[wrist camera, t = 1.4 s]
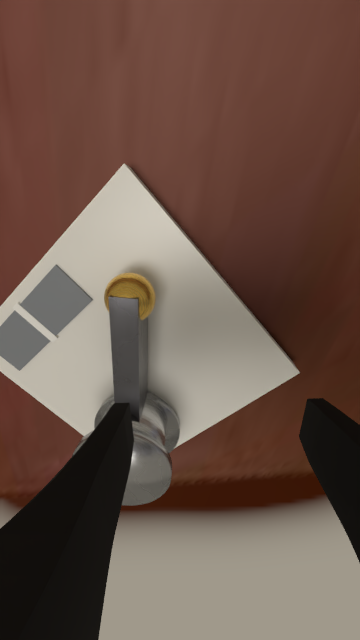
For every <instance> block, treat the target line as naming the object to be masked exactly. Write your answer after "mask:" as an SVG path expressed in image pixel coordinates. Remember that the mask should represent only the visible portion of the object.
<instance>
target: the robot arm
mask: <svg viewBox="0 0 360 640" xmlns="http://www.w3.org/2000/svg"><path fill="white" fill-rule="evenodd" d="M299 437H300V440H301V443H302V445H303V448H304V451H305V453H306V456H307V458H308V461H309V463H310V465H311V467H312V469H313V471H314V473H315V474H316V476H317V478H318V480H319V482H320V484H321V486H322V488H323V490H324V491H325V493H326V495H327V497H328V499H329V501H330V503H331V504H332V506H333V508H334V510H335V512H336V514H337V516H338V517H339V520H340V521H341V523H342V525H343V527H344V529H345V531H346V533H347V535H348V537H349V539H350V541H351V544H352V546H353V548H354V550H355V553H356V555H357V557H358V560H359V562H360V425H359V424H357V423H356V422H355V421H353V420H352V419H351V418H349V417H348V416H347V415H345V414H344V413H342V412H341V411H340V410H338V409H337V408H336V407H334V406H333V405H331V404H330V403H329V402H327V401H326V400H324V399H323V398H319V399H307V403H306V408H305V412H304V416H303V421H302V425H301V430H300V434H299ZM133 445H134V435H133V427H132V419H131V411H130V403H114V404H113V405H112V406H111V407H110V409H109V410H108V412H107V413H106V415H105V416H104V417H103V419H102V420H101V421H100V423H99V424H98V425H97V427H96V428H95V429H94V431H93V432H92V433H91V435H90V436H89V437H88V438H87V440H86V441H85V442H84V443H83V445H82V446H81V447H80V448H79V450H78V451H77V452H76V453H75V454H74V455H73V456H72V458H71V459H70V460H69V461H68V462H67V463H66V465H65V466H64V467H63V468H62V469H61V470H60V471H59V472H58V473H57V475H56V476H55V477H54V478H53V479H52V480H51V481H50V482H49V483H48V484H47V485H46V486H45V487H44V488H43V489H42V490H41V491H40V492H39V493H38V494H37V495H36V496H35V497H34V498H33V499H32V500H31V501H30V502H29V503H28V504H27V505H26V506H25V507H24V508H23V509H21V510H20V511H19V512H18V513H17V514H16V515H15V516H14V517H13V518H12V519H11V520H10V521H9V522H8V523H6V524H5V525H4V526H3V527H2V528H1V529H0V640H98V637H99V630H100V623H101V616H102V610H103V603H104V596H105V589H106V582H107V576H108V569H109V563H110V557H111V550H112V545H113V540H114V535H115V530H116V526H117V522H118V518H119V513H120V510H121V505H122V501H123V497H124V493H125V489H126V484H127V480H128V476H129V472H130V467H131V461H132V453H133Z"/></svg>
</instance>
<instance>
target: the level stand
mask: <svg viewBox="0 0 360 640" xmlns="http://www.w3.org/2000/svg"><path fill="white" fill-rule="evenodd" d="M122 273H137V274H139V275H142V276H143V277H145V278H146V279H147V280H148V281H149V282H150V283H151V284H152V286H153V288H154V291H155V295H156V302H155V306H154V309H153V311H152V312H151V314H150V315H149V316H148V391H150V392H152V393H154V394H156V395H157V396H159V397H160V398H161V399H162V400H164V401H165V402H166V403H168V404H169V405H170V406H171V407H172V408H173V410H174V411H175V412H176V414H177V416H178V419H179V422H180V435H179V440H178V443H177V445H176V446H175V448H176V447H177V446H179V445H181V444H182V443H184V442H186V441H187V440H189V439H191V438H192V437H194V436H196V435H197V434H199V433H201V432H202V431H204V430H206V429H207V428H209V427H211V426H212V425H214V424H216V423H217V422H219V421H221V420H222V419H224V418H226V417H227V416H229V415H231V414H232V413H234V412H236V411H237V410H239V409H241V408H242V407H244V406H246V405H247V404H249V403H251V402H252V401H254V400H256V399H257V398H259V397H261V396H262V395H264V394H266V393H267V392H269V391H271V390H272V389H274V388H276V387H277V386H279V385H281V384H282V383H284V382H286V381H287V380H289V379H291V378H292V377H294V376H296V375H297V374H299V373H300V372H299V370H298V369H297V367H296V366H295V364H294V363H293V361H292V360H291V359H290V358H289V356H288V355H287V354H286V353H285V352H284V351H283V349H282V348H281V347H280V346H279V345H278V343H277V342H276V341H275V340H274V339H273V337H272V336H271V335H270V334H269V333H268V331H267V330H266V329H265V328H264V327H263V325H262V324H261V323H260V322H259V321H258V319H257V318H256V317H255V316H254V315H253V313H252V312H251V311H250V310H249V309H248V307H247V306H246V305H245V304H244V303H243V301H242V300H241V299H240V298H239V297H238V295H237V294H236V293H235V292H234V291H233V290H232V288H231V287H230V286H229V285H228V284H227V282H226V281H225V280H224V279H223V278H222V276H221V275H220V274H219V273H218V272H217V270H216V269H215V268H214V267H213V266H212V264H211V263H210V262H209V261H208V260H207V258H206V257H205V256H204V255H203V254H202V252H201V251H200V250H199V249H198V248H197V246H196V245H195V244H194V243H193V242H192V240H191V239H190V238H189V237H188V236H187V235H186V233H185V232H184V231H183V230H182V229H181V227H180V226H179V225H178V224H177V223H176V221H175V220H174V219H173V218H172V217H171V215H170V214H169V213H168V212H167V211H166V209H165V208H164V207H163V206H162V205H161V203H160V202H159V201H158V200H157V199H156V197H155V196H154V195H153V194H152V193H151V191H150V190H149V189H148V188H147V187H146V185H145V184H144V183H143V182H142V181H141V180H140V178H139V177H138V176H137V175H136V174H135V172H134V171H133V170H132V169H131V168H130V167H129V166H127V165H126V164H123V165H122V167H121V168H120V169H119V170H118V171H117V172H116V173H115V175H114V176H113V177H112V178H111V179H110V180H109V182H108V183H107V184H106V185H105V186H104V187H103V188H102V190H101V191H100V192H99V193H98V194H97V195H96V197H95V198H94V199H93V200H92V201H91V202H90V204H89V205H88V206H87V207H86V208H85V209H84V210H83V212H82V213H81V214H80V215H79V216H78V217H77V219H76V220H75V221H74V222H73V223H72V224H71V226H70V227H69V228H68V229H67V230H66V231H65V232H64V234H63V235H62V236H61V237H60V238H59V239H58V241H57V242H56V243H55V244H54V245H53V246H52V247H51V249H50V250H49V251H48V252H47V253H46V254H45V256H44V257H43V258H42V259H41V260H40V261H39V263H38V264H37V265H36V266H35V267H34V268H33V269H32V271H31V272H30V273H29V274H28V275H27V276H26V278H25V279H24V280H23V281H22V282H21V283H20V284H19V286H18V287H17V288H16V289H15V290H14V291H13V293H12V294H11V295H10V296H9V297H8V298H7V300H6V301H5V302H4V303H3V304H2V305H1V306H0V371H1V372H2V373H3V374H4V375H6V376H7V377H8V378H10V379H11V380H12V381H13V382H15V383H16V384H17V385H19V386H20V387H21V388H23V389H24V390H25V391H26V392H28V393H29V394H30V395H32V396H33V397H34V398H35V399H37V400H38V401H39V402H41V403H42V404H43V405H45V406H46V407H47V408H48V409H50V410H51V411H52V412H54V413H55V414H56V415H57V416H59V417H60V418H61V419H63V420H64V421H65V422H67V423H68V424H69V425H70V426H72V427H73V428H74V429H76V430H77V431H78V432H79V433H81V434H82V435H83V436H85V435H87V434H88V433H90V432H91V431H94V429H95V428H94V421H95V417H96V414H97V412H98V410H99V408H100V407H101V405H102V404H103V403H104V402H105V401H106V400H107V399H108V398H110V397H111V396H113V395H114V385H113V368H112V351H111V334H110V317H109V312H108V310H107V309H106V306H105V303H104V292H105V289H106V287H107V285H108V283H109V282H110V281H111V280H112V279H113V278H114V277H116V276H117V275H119V274H122Z"/></svg>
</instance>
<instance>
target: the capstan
mask: <svg viewBox="0 0 360 640" xmlns="http://www.w3.org/2000/svg"><path fill="white" fill-rule="evenodd" d="M155 302H156V295H155V291H154V288H153V286H152V284H151V283H150V282H149V281H148V280H147V279H146V278H145V277H143V276H142V275H139V274H137V273H122V274H119V275H117V276H116V277H114V278H113V279H112V280H111V281H110V282H109V283H108V285H107V287H106V289H105V292H104V303H105V306H106V309H107V310H108V312H109V317H110V334H111V351H112V368H113V385H114V395H113V396H111V397H110V398H108V399H107V400H106V401H105V402H104V403H103V404H102V405H101V407H100V408H99V410H98V412H97V414H96V417H95V421H94V428H96V427H97V425H98V424H99V423H100V421H101V420H102V419H103V417H104V416H105V415H106V413H107V412H108V410H109V409H110V407H111V406H112V405H113V404H114V403H130V411H131V419H132V427H133V435H134V445H133V453H132V461H131V467H130V472H129V476H128V480H127V484H126V489H125V493H124V497H123V501H122V505H141V504H145V503H149V502H151V501H154V500H156V499H157V498H159V497H160V496H162V495H163V494H164V493H165V492H166V490H167V489H168V487H169V485H170V482H171V474H172V461H171V457H170V455H169V453H170V452H171V451H172V450H173V449H174V448H175V446H176V445H177V443H178V440H179V435H180V422H179V419H178V416H177V414H176V412H175V411H174V410H173V408H172V407H171V406H170V405H169V404H168V403H166V402H165V401H164V400H162V399H161V398H160V397H159V396H157V395H156V394H154V393H152V392H150V391H148V316H149V315H150V314H151V312H152V311H153V309H154V306H155ZM92 432H93V431H91V432H90V433H88V434H87V435H85V436H84V437H83V438H82V439H81V441H80V442H79V444H78V446H77V447H76V449H75V451H74V453H73V455H74V454H75V453H76V452H77V451H78V450H79V448H80V447H81V446H82V445H83V443H84V442H85V441H86V440H87V438H88V437H89V436H90V435H91V433H92Z"/></svg>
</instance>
